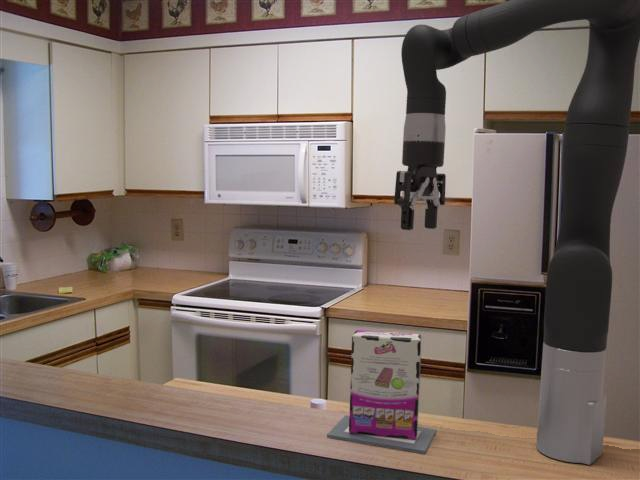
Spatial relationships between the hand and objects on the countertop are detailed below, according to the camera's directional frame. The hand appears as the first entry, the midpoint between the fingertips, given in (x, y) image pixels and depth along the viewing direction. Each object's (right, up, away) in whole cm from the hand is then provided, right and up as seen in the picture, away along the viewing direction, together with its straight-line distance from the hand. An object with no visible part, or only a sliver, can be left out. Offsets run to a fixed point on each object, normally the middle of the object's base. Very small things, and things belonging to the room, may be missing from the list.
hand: (418, 229), depth 125 cm
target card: (-8, -34, -13) cm, 37 cm away
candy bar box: (-8, -34, -13) cm, 37 cm away
